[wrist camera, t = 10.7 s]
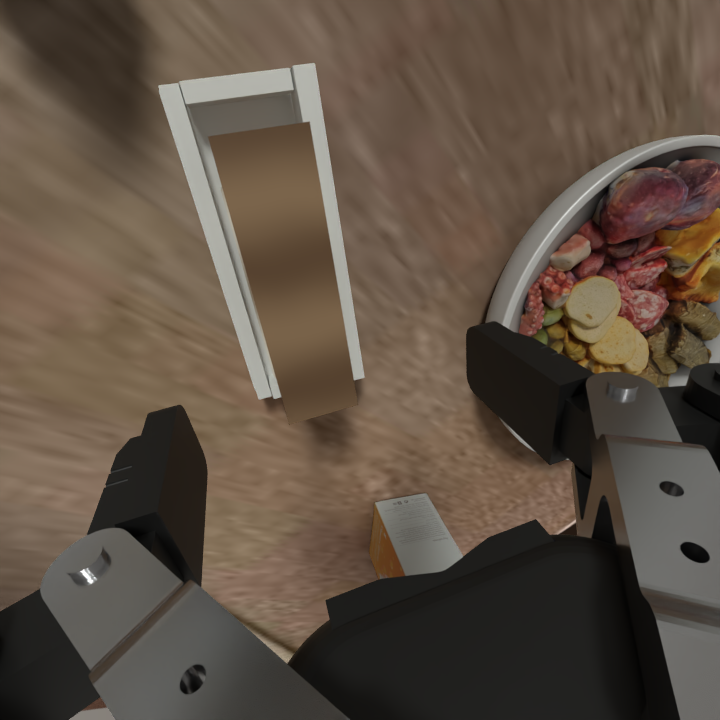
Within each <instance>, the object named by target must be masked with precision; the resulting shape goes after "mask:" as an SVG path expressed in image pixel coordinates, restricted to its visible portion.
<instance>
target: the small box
mask: <svg viewBox="0 0 720 720" xmlns="http://www.w3.org/2000/svg"><path fill="white" fill-rule="evenodd" d="M369 554H370V557H371V560H372V563H373V565H374V568H375V571H376V574H377V577H378V580H379V579H383V578H391V577H400V576H409V575H417V574H426V573H435V572H441V571H444V570H446V569H447V568H449V567H450V566H452V565H453V564H454V563H456V562H457V561H458V560H460V559H461V558H462V557H463V555H462V553H461V551H460V550H459V548H458V546H457V545H456V543H455V541H454V540H453V538H452V536H451V535H450V533H449V531H448V529H447V528H446V526H445V524H444V523H443V521H442V519H441V517H440V516H439V514H438V512H437V510H436V509H435V507H434V505H433V504H432V502H431V500H430V498H429V497H428V495H427V494H426V493H424V494H417V495H412V496H406V497H400V498H395V499H389V500H384V501H379V502H375V503H374V516H373V525H372V534H371V542H370V549H369Z"/></svg>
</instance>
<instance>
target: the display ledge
mask: <svg viewBox="0 0 720 720" xmlns="http://www.w3.org/2000/svg"><path fill="white" fill-rule="evenodd" d="M179 83H180V85H179V84H178V83H175V84H167V85H159V93H160V96H161V100H162V103H163V106H164V109H165V112H166V115H167V118H168V121H169V124H170V128H171V131H172V134H173V137H174V140H175V143H176V146H177V149H178V152H179V156H180V159H181V162H182V165H183V168H184V171H185V174H186V177H187V180H188V184H189V187H190V190H191V193H192V196H193V199H194V202H195V205H196V208H197V212H198V215H199V218H200V221H201V224H202V227H203V230H204V233H205V236H206V239H207V243H208V246H209V249H210V252H211V255H212V258H213V261H214V264H215V267H216V271H217V274H218V277H219V280H220V283H221V286H222V289H223V292H224V295H225V299H226V302H227V305H228V308H229V311H230V314H231V317H232V320H233V323H234V327H235V330H236V333H237V336H238V339H239V342H240V345H241V348H242V351H243V355H244V358H245V361H246V364H247V367H248V370H249V373H250V376H251V379H252V383H253V386H254V389H255V391H256V392H257V395H258V399H259V400H260V399H263V398H267V397H271V396H272V395H273V398H274V399H276V398H280V397H281V394H280V390H279V387H278V383H277V380H276V377H275V378H274V375H273V372H272V368H271V365H270V361H269V358H268V354H267V351H266V347H265V344H264V340H263V337H262V333H261V330H260V326H259V323H258V319H257V316H256V312H255V309H254V305H253V302H252V298H251V295H250V291H249V287H248V284H247V280H246V277H245V273H244V270H243V266H242V263H241V259H240V256H239V252H238V249H237V245H236V242H235V238H234V235H233V231H232V228H231V224H230V221H229V217H228V214H227V210H226V207H225V203H224V200H223V196H222V193H221V186H222V185H221V181H220V178H219V174H218V171H217V167H216V164H215V160H214V157H213V153H212V150H211V146H210V143H209V139H208V136H214V135H221V134H228V133H234V132H241V131H248V130H255V129H262V128H269V127H275V126H282V125H289V124H296V123H303V122H310V126H311V132H312V138H313V144H314V150H315V156H316V161H317V167H318V173H319V179H320V185H321V191H322V197H323V202H324V208H325V214H326V220H327V226H328V232H329V237H330V243H331V249H332V255H333V261H334V267H335V272H336V278H337V284H338V290H339V296H340V302H341V308H342V313H343V319H344V325H345V331H346V337H347V343H348V348H349V354H350V360H351V366H352V372H353V378H354V380H357V379H361V378H365V377H364V371H363V364H362V358H361V352H360V345H359V339H358V333H357V327H356V320H355V314H354V308H353V301H352V295H351V289H350V282H349V276H348V270H347V263H346V257H345V251H344V244H343V238H342V232H341V225H340V219H339V213H338V206H337V200H336V194H335V187H334V181H333V175H332V169H331V162H330V156H329V150H328V143H327V137H326V131H325V124H324V118H323V112H322V105H321V99H320V93H319V86H318V80H317V74H316V67H315V63H311V64H303V65H294V66H292V68H291V69H290V68H284V69H275V70H267V71H259V72H251V73H243V74H235V75H226V76H218V77H210V78H202V79H194V80H186V81H179ZM180 86H181V87H180ZM270 388H271V389H270ZM271 391H272V394H271Z"/></svg>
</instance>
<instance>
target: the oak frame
mask: <svg viewBox="0 0 720 720" xmlns="http://www.w3.org/2000/svg"><path fill="white" fill-rule="evenodd" d="M208 139H209V143H210V146H211V150H212V153H213V157H214V160H215V164H216V167H217V171H218V174H219V178H220V181H221V185H222V186H221V193H222V196H223V200H224V203H225V207H226V210H227V214H228V217H229V221H230V224H231V228H232V231H233V235H234V238H235V242H236V245H237V249H238V252H239V256H240V259H241V263H242V266H243V270H244V273H245V277H246V280H247V284H248V287H249V291H250V295H251V298H252V302H253V305H254V309H255V312H256V316H257V319H258V323H259V326H260V330H261V333H262V337H263V340H264V344H265V347H266V351H267V354H268V358H269V361H270V365H271V368H272V372H273V375H274V378H275V377H276V380H277V383H278V387H279V390H280V394H281V397H282V401H283V404H284V408H285V412H286V415H287V419H288V422H289V425H290V424H294V423H297V422H301V421H304V420H308V419H311V418H314V417H318V416H321V415H325V414H328V413H332V412H335V411H339V410H342V409H346V408H349V407H353V406H356V405H358V401H357V395H356V389H355V383H354V378H353V372H352V366H351V360H350V354H349V348H348V343H347V337H346V331H345V325H344V319H343V313H342V308H341V302H340V296H339V290H338V284H337V278H336V272H335V267H334V261H333V255H332V249H331V243H330V237H329V232H328V226H327V220H326V214H325V208H324V202H323V197H322V191H321V185H320V179H319V173H318V167H317V161H316V156H315V150H314V144H313V138H312V132H311V126H310V122H303V123H296V124H289V125H282V126H275V127H269V128H262V129H255V130H248V131H241V132H234V133H228V134H221V135H214V136H208Z"/></svg>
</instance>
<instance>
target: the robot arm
mask: <svg viewBox="0 0 720 720" xmlns="http://www.w3.org/2000/svg"><path fill="white" fill-rule="evenodd" d="M466 360H467V379H468V383H469V386H470V388H471V390H472V391H473V392H474V394H475V395H476V396H477V397H478V398H479V399H481V400H482V401H483V402H484V403H485V404H486V405H487V406H488V407H489V408H490V409H491V410H492V411H493V412H494V413H495V414H496V415H497V416H498V417H500V418H501V419H502V420H503V421H504V422H505V423H506V424H507V425H508V426H509V427H510V428H511V429H512V430H513V431H514V432H515V433H516V434H517V435H518V436H520V437H521V438H522V439H523V440H524V441H525V442H526V443H527V444H528V445H529V446H530V447H531V448H532V449H533V450H534V451H535V452H536V453H537V454H539V455H540V456H541V457H542V458H543V459H544V460H545V461H546V462H547V463H548V464H549V465H552V464H555V463H557V462H560V461H563V460H566V459H569V460H571V461H572V462H573V464H572V470H571V477H572V486H573V496H574V505H575V514H576V524H577V536H574V535H549V534H548V533H547V532H546V530H545V529H544V528H543V527H542V526H541V525H540V523H539V522H538V521H537V520H536V519H535V520H533V521H530V522H527V523H525V524H522V525H520V526H517V527H514V528H512V529H509V530H507V531H504V532H501V533H499V534H496V535H494V536H491V537H488V538H487V539H486V540H485V541H483V542H482V543H481V544H479V545H478V546H477V547H475V548H474V549H473V550H471V551H470V552H469V553H467V554H466V555H465V556H463V557H462V558H461V559H460V560H458V561H457V562H456V563H454V564H453V565H452V566H450V567H449V568H447V569H446V570H444V571H441V572H435V573H426V574H417V575H409V576H400V577H391V578H383V579H379V580H377V581H374V582H372V583H369V584H366V585H364V586H361V587H359V588H356V589H353V590H351V591H348V592H346V593H343V594H340V595H338V596H335V597H333V598H330V599H327V600H326V605H327V609H328V613H329V618H330V620H329V621H327V622H326V623H325V624H323V625H322V626H321V627H319V628H318V629H317V630H316V631H315V632H314V633H313V634H312V635H311V636H310V637H309V638H307V639H306V641H305V642H304V643H303V644H302V645H301V646H300V648H299V649H298V650H297V651H296V652H295V654H294V655H293V656H292V658H291V659H290V661H289V662H288V664H287V663H285V662H284V661H283V660H282V659H281V658H280V657H279V656H278V655H276V654H275V653H274V652H273V651H272V650H271V649H270V648H269V647H267V646H266V645H265V644H264V643H263V642H262V641H261V640H260V639H258V638H257V637H256V636H255V635H254V634H253V633H252V632H251V631H249V630H248V629H247V628H246V627H245V626H244V625H243V624H242V623H240V622H239V621H238V620H237V619H236V618H235V617H234V616H233V615H231V614H230V613H229V612H228V611H227V610H226V609H225V608H224V607H222V606H221V605H220V604H219V603H218V602H217V601H216V600H215V599H213V598H212V597H211V596H210V595H209V594H208V593H207V592H206V591H204V590H203V589H202V588H201V580H202V563H203V545H204V528H205V510H206V492H207V464H206V460H205V456H204V453H203V450H202V448H201V446H200V443H199V441H198V439H197V436H196V434H195V432H194V430H193V427H192V425H191V423H190V420H189V418H188V416H187V414H186V411H185V410H184V408H183V407H182V406H181V405H177V406H173V407H169V408H166V409H162V410H158V411H154V412H151V413H149V414H148V415H147V418H146V421H145V425H144V428H143V431H142V434H141V436H138V437H134V438H131V439H130V440H129V441H128V442H127V443H126V444H125V445H124V447H123V448H122V449H121V450H120V451H119V452H118V453H117V455H116V457H115V460H114V463H113V465H112V468H111V474H109V476H108V479H107V482H106V484H105V485H106V488H104V490H103V493H102V495H101V498H100V501H99V503H98V506H97V509H96V512H95V514H94V517H93V520H92V522H91V525H90V528H89V531H88V533H87V536H85V537H83V538H82V539H80V540H78V541H77V542H75V543H74V544H72V545H71V546H70V547H69V548H67V549H66V550H65V551H64V552H63V553H62V554H61V555H59V556H58V557H57V559H56V560H55V561H54V562H53V563H52V564H51V566H50V567H49V569H48V570H47V572H46V574H45V575H44V577H43V580H42V583H41V588H40V589H39V590H37V591H36V592H34V593H32V594H31V595H29V596H27V597H25V598H23V599H22V600H20V601H18V602H16V603H15V604H13V605H11V606H9V607H8V608H6V609H4V610H2V611H0V720H69V719H70V718H71V717H73V716H74V715H76V714H77V713H78V712H80V711H81V710H83V709H84V708H85V707H87V706H88V705H90V704H91V703H92V702H94V701H95V700H97V699H98V698H99V697H101V698H102V700H103V701H104V703H105V704H106V706H107V707H108V709H109V710H110V712H111V713H112V715H113V717H114V718H115V720H720V363H706V364H701V365H697V366H695V367H693V368H692V369H691V370H690V374H689V377H688V380H687V383H686V386H673V387H660V388H657V387H656V386H655V385H654V384H653V383H651V382H650V381H648V380H646V379H644V378H642V377H639V376H636V375H633V374H629V373H623V372H602V373H597V374H595V373H593V372H592V371H590V370H588V369H586V368H585V367H583V366H581V365H580V364H578V363H576V362H574V361H573V360H571V359H569V358H568V357H566V356H564V355H562V354H561V353H560V354H558V352H557V351H556V350H554V349H552V348H550V347H547V345H545V344H544V343H542V342H540V341H538V340H537V339H535V338H533V337H530V336H527V335H523V334H520V333H516V332H513V331H511V330H510V329H508V328H506V327H505V326H503V325H501V324H500V323H498V322H496V321H491V322H488V323H484V324H480V325H477V326H473V327H470V328H469V329H468V330H467V334H466Z"/></svg>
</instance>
